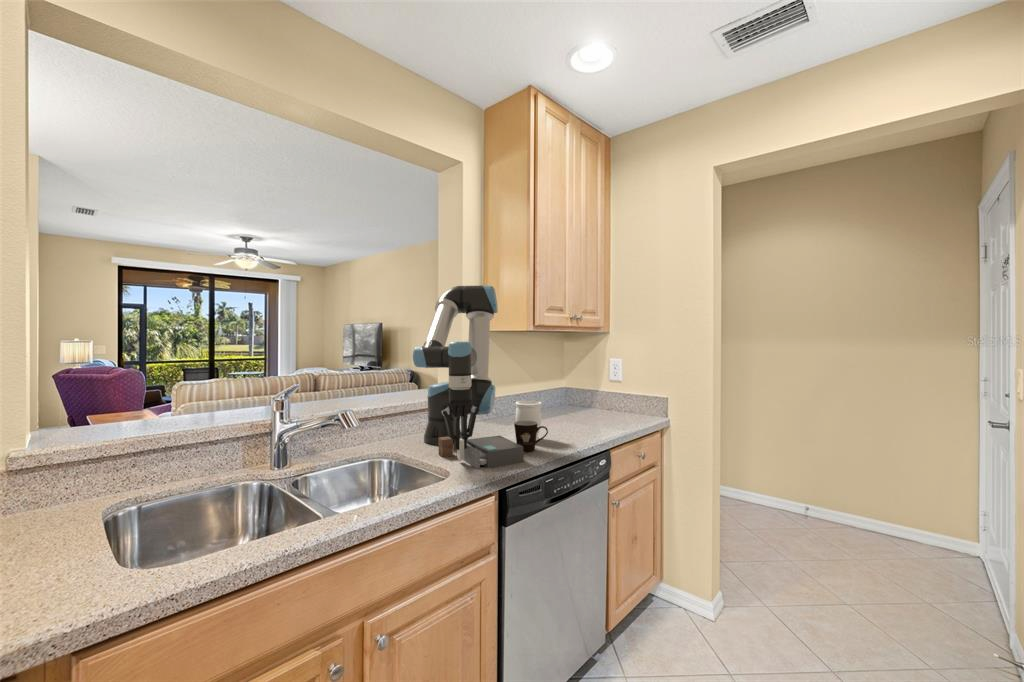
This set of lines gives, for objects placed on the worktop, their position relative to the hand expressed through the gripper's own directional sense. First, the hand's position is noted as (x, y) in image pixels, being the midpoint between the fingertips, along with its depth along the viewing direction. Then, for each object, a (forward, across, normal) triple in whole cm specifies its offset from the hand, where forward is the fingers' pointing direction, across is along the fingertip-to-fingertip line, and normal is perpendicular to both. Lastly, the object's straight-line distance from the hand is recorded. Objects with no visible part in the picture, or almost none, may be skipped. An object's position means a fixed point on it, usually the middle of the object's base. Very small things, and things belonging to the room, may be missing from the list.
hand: (460, 458), depth 149 cm
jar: (+2, +36, +18) cm, 40 cm away
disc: (0, +8, 0) cm, 9 cm away
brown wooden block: (+1, -1, +11) cm, 12 cm away
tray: (+1, +8, 0) cm, 8 cm away
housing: (+1, +12, 0) cm, 12 cm away
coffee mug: (+2, +28, +3) cm, 28 cm away
